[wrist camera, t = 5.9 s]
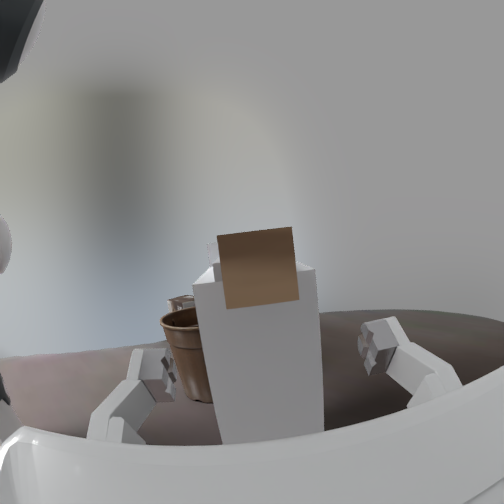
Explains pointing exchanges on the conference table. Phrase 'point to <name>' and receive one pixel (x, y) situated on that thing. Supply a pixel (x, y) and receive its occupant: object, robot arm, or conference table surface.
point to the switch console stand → (262, 360)
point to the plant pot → (188, 352)
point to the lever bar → (258, 267)
